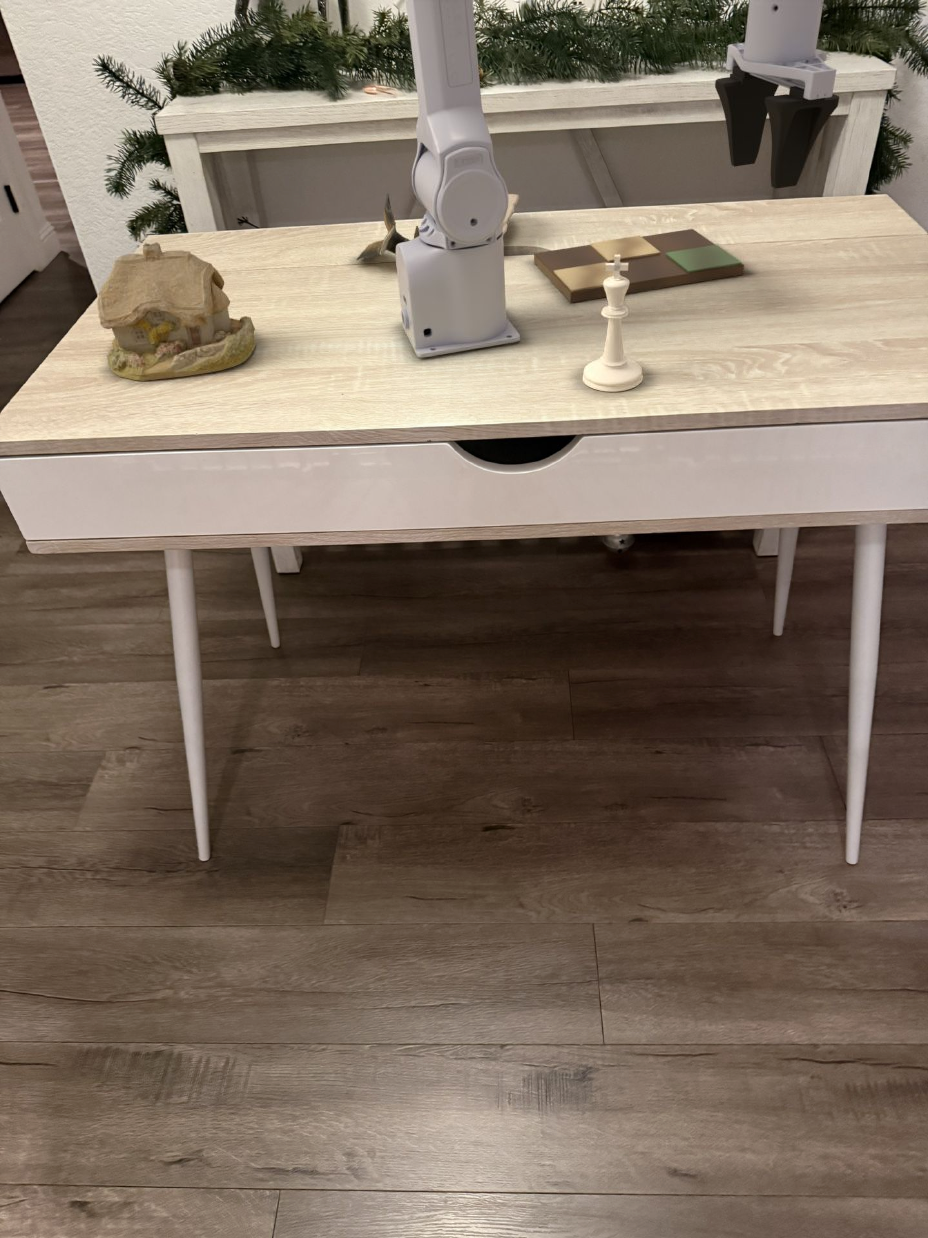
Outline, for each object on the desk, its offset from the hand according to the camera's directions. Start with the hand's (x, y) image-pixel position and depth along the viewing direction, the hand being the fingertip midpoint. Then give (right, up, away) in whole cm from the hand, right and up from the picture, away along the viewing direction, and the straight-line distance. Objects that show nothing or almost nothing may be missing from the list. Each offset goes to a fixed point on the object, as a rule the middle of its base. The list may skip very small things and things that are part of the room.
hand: (762, 174), depth 82 cm
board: (-9, -4, +12) cm, 16 cm away
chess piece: (-15, -20, -6) cm, 25 cm away
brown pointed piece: (-34, -1, +18) cm, 39 cm away
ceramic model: (-53, -15, +4) cm, 55 cm away
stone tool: (-25, +4, +23) cm, 34 cm away
